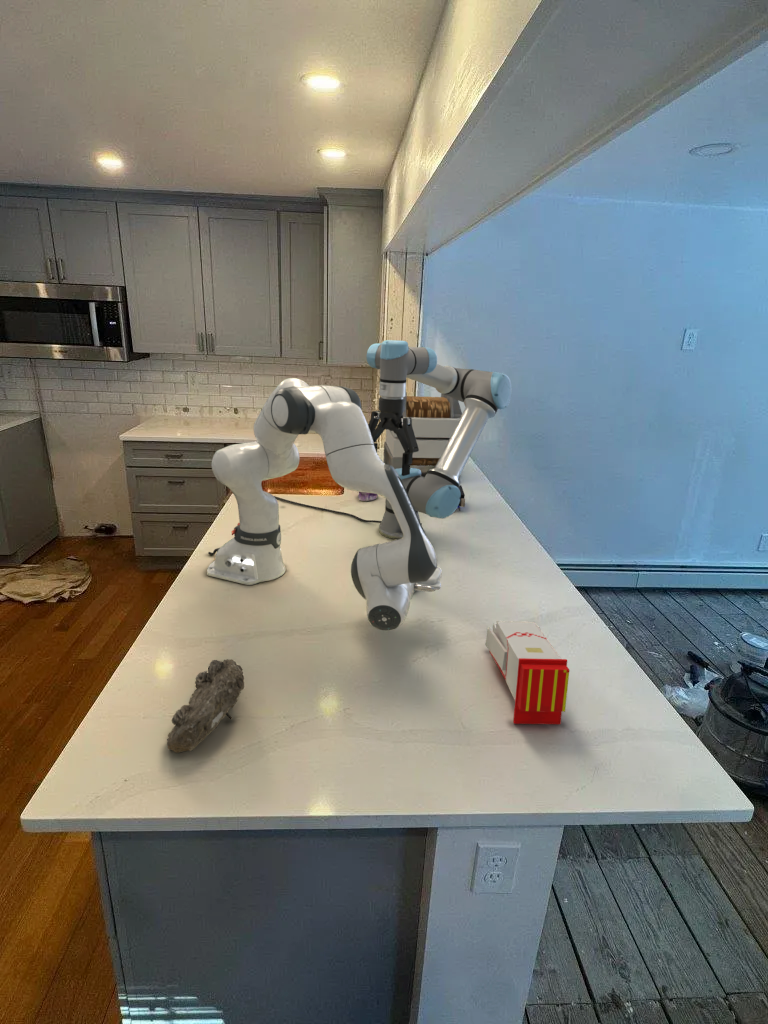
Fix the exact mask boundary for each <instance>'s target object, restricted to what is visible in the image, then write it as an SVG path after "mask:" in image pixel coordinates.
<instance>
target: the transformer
mask: <svg viewBox="0 0 768 1024" xmlns="http://www.w3.org/2000/svg"><path fill="white" fill-rule="evenodd" d="M407 394H408V393H407V392H406V396H405V397H403V398H404V399H405V411H404V412H403V418H409V417H411V418H412V428H413V431H414V434H415V438H416V441H417V445H418V448H419V451H418V452H414V453H413V455H412V464H410V467H412V466H413V467H415V466H416V467H417V466H418V467H435V466H436V464H437V463H438V461H439V459H440V457H441V455H442V453H443V451H444V449H445V447H446V445H447V443H448V441H449V439H450V437H451V435H452V433H453V431H454V429H455V427H456V425H457V423H458V421H459V419H460V417H461V415H462V414H463V411H462V408H461V405H460V401H459V400H456V399H454V398H452V397H449V396H447V395H445V394H442V393H440V396H415V395H414V396H413V395H412V396H411V395H407ZM399 429H400V428H399ZM404 452H405V451H404V449H403V447H402V445H401V443H400V441H399V439H398V437H397V435H396V434H395V433H394V432H393V431H390V430H388V429H387V430H386V429H385V438H384V442H383V462H384V463H385V464H387V465H391V466H392V467H393V468H394V469H399V468H402V457H403V453H404ZM458 481H459V483H461V475H460V476H459V478H458Z"/></svg>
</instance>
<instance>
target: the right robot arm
mask: <svg viewBox="0 0 768 1024" xmlns="http://www.w3.org/2000/svg"><path fill="white" fill-rule="evenodd" d="M366 351H367V352H366V362H367V364H368V365H369V367H371V368H373V369H376V370H379V388H378V390H379V391H378V396H380V397H379V398H378V410H372V411H371V415H370V420H369V422H368V426H369V429H370V432H371V435H372V438H373V442H374V446H375V449H376V452H377V453H378V445H379V444H378V443H377V442H378V439H380V436H381V435H382V434H383V433H384V431H386V430H387V429H388V430H390V431H393V432H394V433H395V434H396V435H397V437H398V439H399V441H400V443H401V445H402V447H403V449H404V451H405V452H404V453H403V457H402V468H399V469H395V470H396V471H397V473H398V475H399V476H400V478H401V480H402V482H403V484H404V487H405V489H406V491H407V493H408V495H409V497H410V500H411V502H412V504H413V507H414V509H415V511H416V513H417V516H418V518H419V520H420V523H421V525H422V526H423V523H422V522H421V518H420V515H419V513H421V514H424V515H427V516H428V517H430V518H436V519H446V518H449V517H450V516H452V515H453V514H454V513H455V512H456V510H457V509H458V508H457V507H458V505H459V502H460V499H459V498H460V497H461V493H460V490H459V489H458V488H459V486H460V485H461V484H460V482H459V481H458V478H459V476H460V477H461V474H462V472H463V470H464V468H465V467H466V464H467V462H468V460H469V458H470V456H471V454H472V452H473V450H474V448H475V446H476V444H477V442H478V441H479V438H480V436H481V434H482V432H483V430H484V428H485V426H486V424H487V422H488V420H489V419H491V418H495V416H496V414H497V412H498V411H499V410H505V409H506V408H507V407H508V406H509V404H510V402H511V399H512V395H513V394H512V393H513V389H512V388H513V387H512V382H511V379H510V377H509V376H508V375H507V374H505V373H502V372H497V371H487V370H480V369H473V368H460V367H454V366H451V365H444V366H443V365H441V364H438V355H437V353H436V351H435V350H434V349H432V348H431V347H427V346H419V347H418V346H409V343H408V341H406V340H397V339H396V340H395V339H393V340H392V339H386V340H383V341H382V342H380V343H372V344H371V345H370V346H369V347H368V349H367V350H366ZM407 379H409V380H412V381H415V382H417V383H420V384H423V385H426V386H429V387H432V388H434V389H435V391H437V392H438V393H439V394H441V393H442V394H445V395H447V396H449V397H452V398H454V399H456V400H458V402H462V403H463V404H464V406H465V407H464V410H463V411H462V415H461V417H460V419H459V421H458V423H457V425H456V427H455V429H454V431H453V433H452V435H451V437H450V439H449V441H448V443H447V445H446V447H445V449H444V451H443V453H442V455H441V457H440V459H439V461H438V463H437V464H436V466H434V467H433V468H429V469H428V470H427V472H426V474H425V476H422V470H421V469H420V468H416V467H411V466H410V464H412V455H413V453H414V452H418V451H419V448H418V445H417V441H416V438H415V434H414V431H413V428H412V418H411V417H409V418H403V412H404V411H405V399H404V398H403V397H405V396H406V393H407ZM399 428H400V429H399ZM273 496H274V497H275V498H276V500H279V501H281V502H285V503H288V504H293V505H297V506H301V507H305V508H310V509H315V510H320V511H324V512H329V513H334V514H338V515H344V516H349V517H351V518H354V519H357V520H358V521H361V522H364V523H376V524H379V525H378V533H379V534H380V535H381V536H382V537H385V538H387V539H389V540H398V539H401V538H402V537H403V532H402V530H401V528H400V525H399V523H398V521H397V518H396V516H395V514H394V511H393V509H392V507H391V505H390V503H389V501H388V500H387V499H386V498H385V504H384V505H385V507H384V508H385V509H384V513H383V515H382V519H381V520H371V519H365V518H364V519H363V518H361V517H359V516H356V515H354V514H353V513H347V512H344V511H338V510H334V509H329V508H323V507H319V506H314V505H310V504H305V503H301V502H297V501H292V500H289V499H285V498H282V497H278V496H276V495H273Z"/></svg>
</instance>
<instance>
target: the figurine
mask: <svg viewBox="0 0 768 1024" xmlns="http://www.w3.org/2000/svg"><path fill="white" fill-rule="evenodd" d="M377 497H378V494H374V493H367V492H358V495H357V498H358V501H360V502H361V501H362V502H369V501H374V500H376V499H377Z"/></svg>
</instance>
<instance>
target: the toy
mask: <svg viewBox="0 0 768 1024" xmlns="http://www.w3.org/2000/svg"><path fill="white" fill-rule="evenodd" d="M485 637H486V638H485V646H486V647H487V649H488V652H489V654H490V655H491V657H492V659H493V661H494V663H495V664H496V666H497V668H498V670H499V672H500V673H501V675H502V677H503V679H504V680H505V683H506V685H507V687H508V690H509V691H510V693H511V695H512V698H513V700H514V709H513V720H512V721H513V724H514V725H561V724H562V714H563V712H566V706H567V698H568V687H569V678H570V668H569V667H568V659H566V658H562V657H561V656H560V655H559V653H558V652H557V651H556V649H555V648H554V647H553V645H552V644H551V642H550V641H549V639H548V638H547V637H546V635H545V634H544V632H543V631H542V630H541V628H540V626H539V625H537V623H536V622H535V621H510V620H508V621H507V620H497V621H496V623H493V624H492V628H491V627H490V626H487V629H486V636H485Z"/></svg>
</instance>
